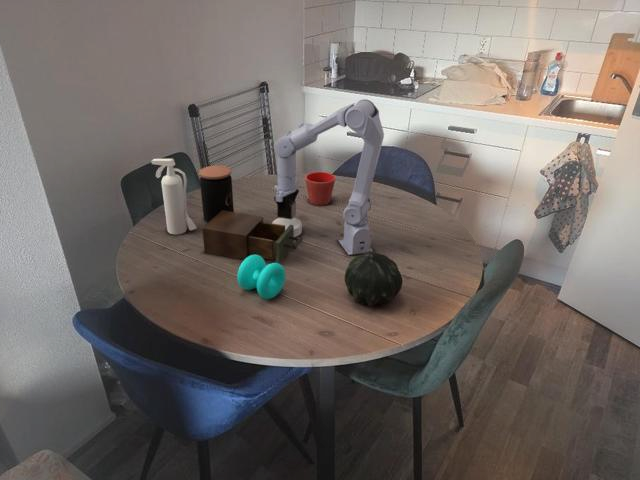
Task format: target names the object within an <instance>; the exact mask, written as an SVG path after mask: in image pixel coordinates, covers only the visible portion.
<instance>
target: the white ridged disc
mask: <svg viewBox="0 0 640 480" xmlns="http://www.w3.org/2000/svg"><path fill="white" fill-rule="evenodd" d="M271 223H273V224H279V225H285V230H286V229H287V228H288V227H289V225H294V237H296V238H298V237H300V235H301V234H302V232H303V229H302V228H303V223H302V221H301V220H300V219H298V218H296V217H294V218H293V219H292V220H291V219H284V218H278V217H277V218H276V219H273V221H272V222H271Z"/></svg>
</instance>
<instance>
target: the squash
mask: <svg viewBox="0 0 640 480" xmlns="http://www.w3.org/2000/svg"><path fill="white" fill-rule="evenodd" d="M344 284H345V286H346V288H347V292H348V293H349V294H350V295H351V296H353V299H354V301H355V302H356V303H357V304H359V305H362V304H366V305H367V306H368V307H375V306H376V305H378V304H379V305H388V304H389V303H390V302H391V301H393V299H394V298H395V297H397V295H398V294H399V293H400V292H401V290H402V287H403V277H402V274H401V271H400V270H399V267H398V264H397V263H396V262H395V261H394V260H392V258H391V259H390V258H389V256H387V255H386V254H383V253H379V252H376V251H373V252H372V251H369V252H366V253H361V254H357V255H356V256H354V257H353V258H352V259H351V260H350V261H349V262H348V265H347V268H346V269H345V273H344Z"/></svg>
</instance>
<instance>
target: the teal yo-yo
mask: <svg viewBox="0 0 640 480" xmlns="http://www.w3.org/2000/svg"><path fill="white" fill-rule="evenodd" d="M237 282H238V285H239V286H240V288H241V289H243V290H246V291H251V290H254V289H256V291H257V294H258V295H259V297H261V298H262V299H265V300H270V299H273V298H275V297H277V296H278V294H280V292H281V290H282V289H283V287H284V285H285V283H286V270H285V268H284V267H283V265H282V264H281V263H276V262H272V263H268V264H266V261H265V258H262V257H261V256H259V255H250V256H248V257H247V258H246V259H245V260H242V262H241V264H240V265H239V268H238V270H237Z"/></svg>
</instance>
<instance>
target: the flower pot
mask: <svg viewBox="0 0 640 480" xmlns="http://www.w3.org/2000/svg"><path fill="white" fill-rule="evenodd" d="M335 182H336V176H335V175H334V174H332V173H330V172H326V171H313V172H310V173H308V174H306V175H305V184H306V189H307V195H308V201H309V203H310V204H312V205H315V206H325V205H328V204H329V203H330V202H331V199H332V195H333V192H334V188H335V187H334V186H335Z"/></svg>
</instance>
